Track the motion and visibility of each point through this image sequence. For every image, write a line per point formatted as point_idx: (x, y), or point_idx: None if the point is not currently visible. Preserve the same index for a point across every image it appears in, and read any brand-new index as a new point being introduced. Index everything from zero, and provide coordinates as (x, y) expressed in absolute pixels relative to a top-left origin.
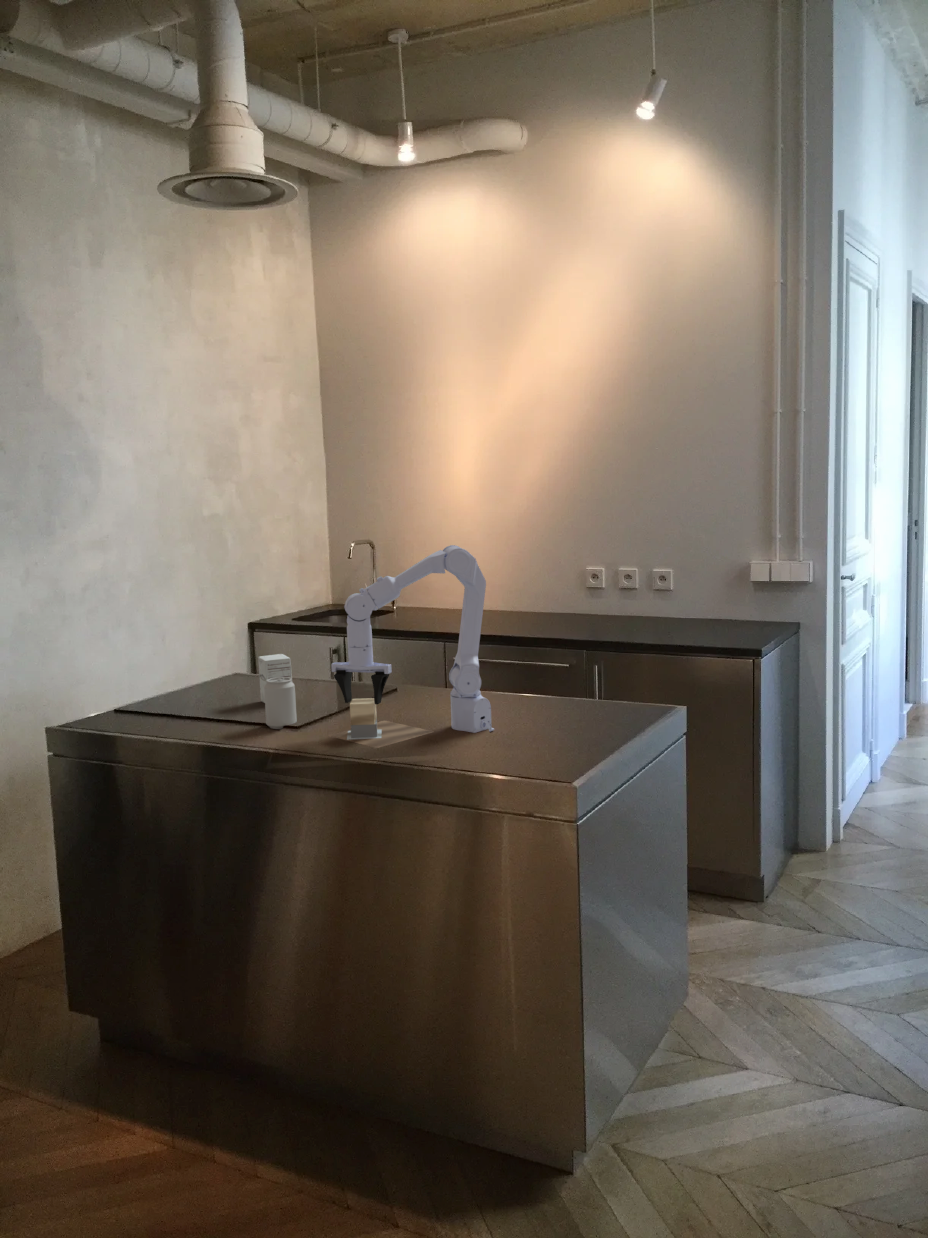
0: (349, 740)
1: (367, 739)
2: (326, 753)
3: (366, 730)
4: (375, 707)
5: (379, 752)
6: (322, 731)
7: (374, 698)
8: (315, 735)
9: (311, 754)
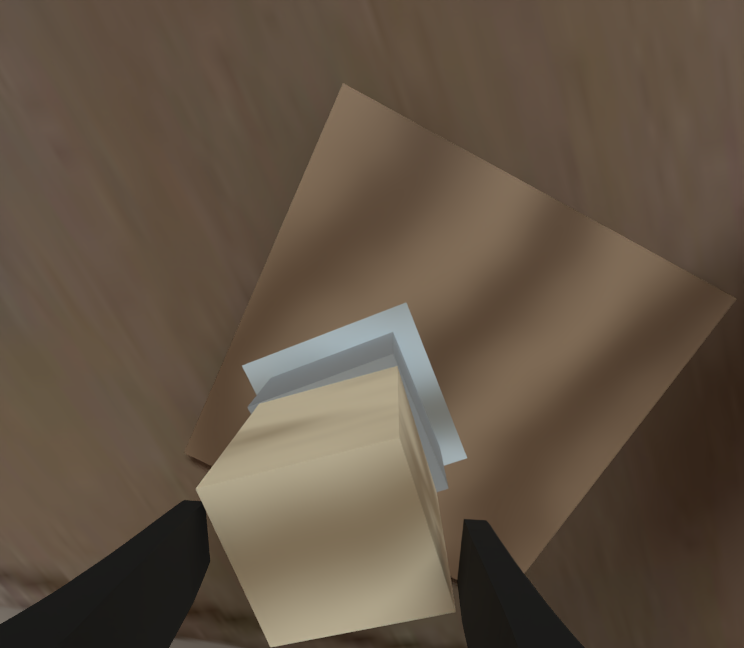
0: None
1: None
2: None
3: None
4: (411, 445)
5: None
6: (86, 310)
7: (470, 644)
8: (98, 384)
9: (248, 630)
